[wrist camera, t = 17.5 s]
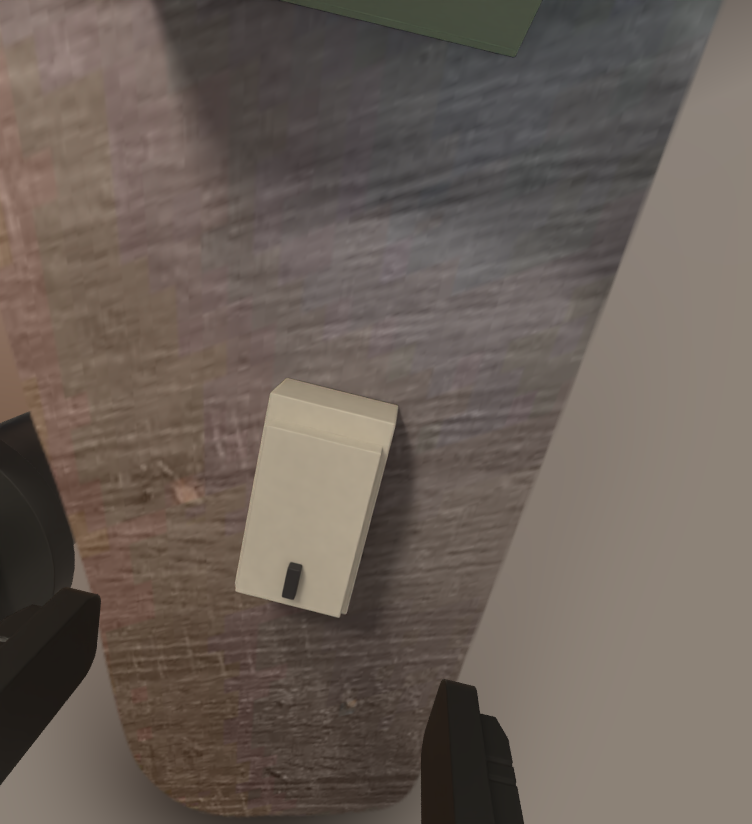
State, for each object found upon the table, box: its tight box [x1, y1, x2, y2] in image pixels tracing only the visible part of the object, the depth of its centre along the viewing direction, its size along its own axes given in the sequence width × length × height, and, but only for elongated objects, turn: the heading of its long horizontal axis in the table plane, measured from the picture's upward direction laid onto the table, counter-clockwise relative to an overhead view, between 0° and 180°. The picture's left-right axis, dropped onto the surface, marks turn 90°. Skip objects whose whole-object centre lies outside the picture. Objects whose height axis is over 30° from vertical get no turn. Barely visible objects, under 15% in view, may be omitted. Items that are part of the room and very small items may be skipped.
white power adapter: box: [235, 378, 398, 618], centre depth 26 cm, size 10×6×4 cm, turn 167°
